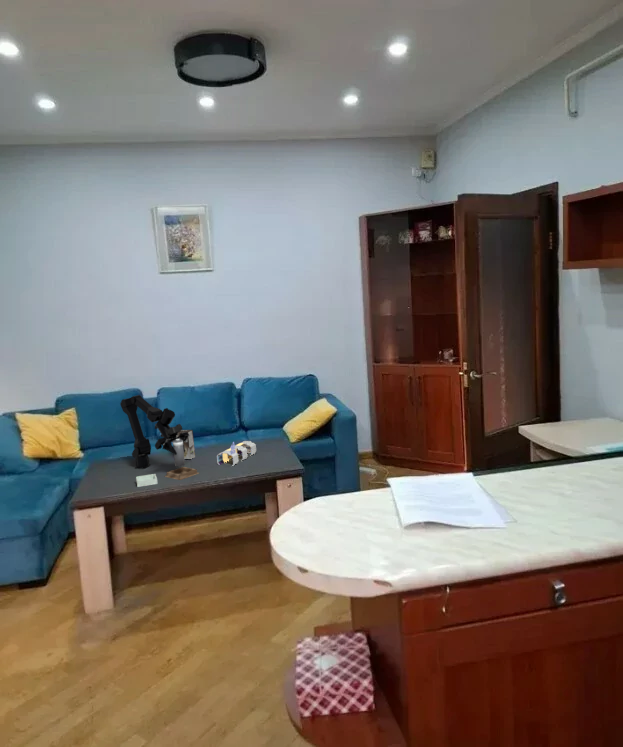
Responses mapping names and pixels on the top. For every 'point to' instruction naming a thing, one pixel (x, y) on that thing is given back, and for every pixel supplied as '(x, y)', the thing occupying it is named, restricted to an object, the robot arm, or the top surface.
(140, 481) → the white square tray
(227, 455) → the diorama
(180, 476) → the brown wooden tray
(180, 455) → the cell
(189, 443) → the coffee box
